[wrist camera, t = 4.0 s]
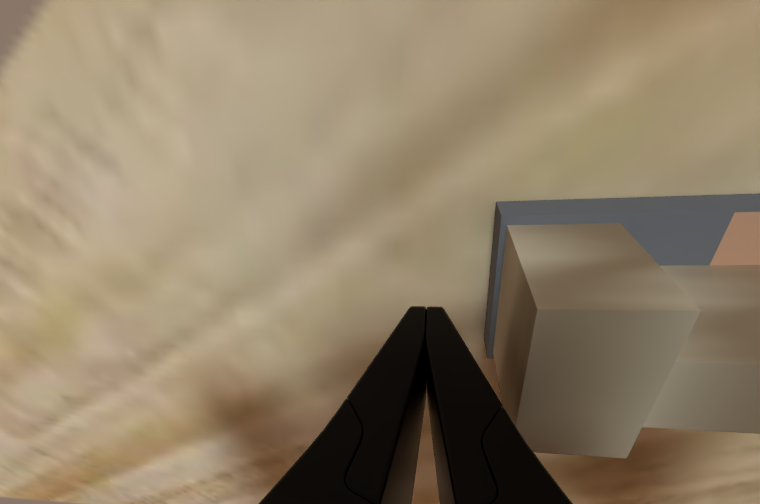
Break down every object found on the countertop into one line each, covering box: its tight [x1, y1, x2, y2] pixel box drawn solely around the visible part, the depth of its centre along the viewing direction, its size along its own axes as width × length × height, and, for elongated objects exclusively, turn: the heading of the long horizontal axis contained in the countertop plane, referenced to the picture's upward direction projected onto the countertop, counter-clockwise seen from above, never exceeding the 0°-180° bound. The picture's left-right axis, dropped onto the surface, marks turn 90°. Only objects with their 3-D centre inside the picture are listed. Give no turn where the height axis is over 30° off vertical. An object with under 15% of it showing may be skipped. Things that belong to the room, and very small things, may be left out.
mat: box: [484, 194, 760, 358], centre depth 9 cm, size 13×5×1 cm, turn 95°
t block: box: [493, 223, 760, 458], centre depth 8 cm, size 7×4×3 cm, turn 95°
